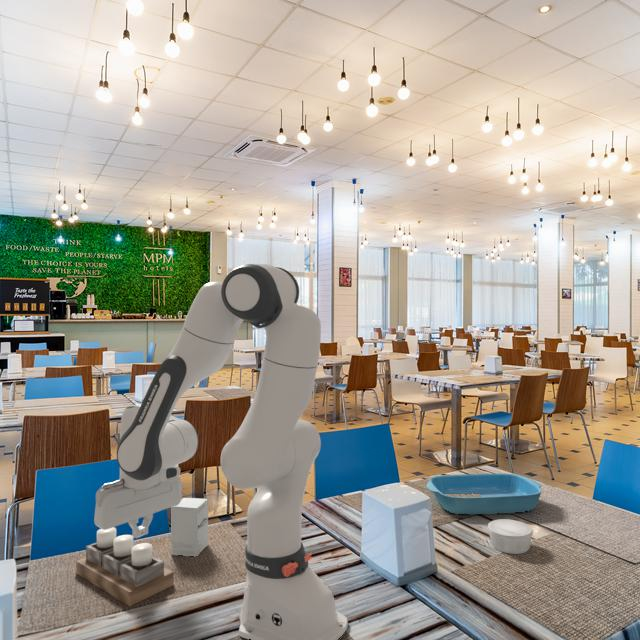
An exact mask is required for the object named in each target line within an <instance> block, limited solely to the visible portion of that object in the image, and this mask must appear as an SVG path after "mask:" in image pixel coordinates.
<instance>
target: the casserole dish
mask: <svg viewBox="0 0 640 640" xmlns="http://www.w3.org/2000/svg"><path fill="white" fill-rule="evenodd" d="M426 488H427V489H428V490H429V491H430V492H431V493H432V494H433V496H434V498H435V500H436V501H437V502H438V504H439V505H440V506H441V507H442V508H443V509H444V511H446V510H447V512H448V511H449V512H448V513H450V512H451V513H450V514H452V513H455V514H454V515H458V514H487V515H498V514H497V513H508V514H516V513H515V512H523V513H526V512H525V511H528V512H531V511H532V510H533V509H535V508H536V507H537V505H538V503H539V501H540V500H539V499H540V497H541V494H542V485H541V483H540V482H538V481H536V480H534V479H532V478H528V477H524V476H522V475H519V474H514V473H503V472H501V473H500V472H499V473H498V472H497V473H469V474H468V473H466V474H465V473H464V474H445V475H444V474H443V475H435V476H431V477H430V478H429V481H428V482H427V483H426ZM472 493H473V494H480V496H481V497H470V498H467V497H451V496H447V495H445V494H459V495H460V494H465V495H467V494H470V495H471V494H472ZM530 510H531V511H530Z"/></svg>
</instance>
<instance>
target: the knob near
mask: <svg viewBox="0 0 640 640" xmlns="http://www.w3.org/2000/svg"><path fill="white" fill-rule="evenodd" d="M152 556H153V544H151V543H149V542H142V543H138V544H134V546H133V547H132V548H131V560H132V565H133V566H145V565H147V564H149V563H151V562H152Z"/></svg>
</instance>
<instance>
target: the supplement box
mask: <svg viewBox="0 0 640 640" xmlns="http://www.w3.org/2000/svg"><path fill="white" fill-rule="evenodd" d="M170 509H171V510H170V511H171V512H170V513H171V514H170V518H171V519H170V521H171V522H170V524H171V527H170V529H171V530H170V534H171V535H170V541H171V542H170V544H171V546H170V547H171V548H170V552H171V553H170V554H171V556H178V555H183V556H182V557H189V556H194V557H193V558H197V557H198V556H199V555H200V554H201V552H203V550H204V549H205V548H206V547H207V546H209V500H208V498H199V497H198V498H197V497H182V500H181V502H180V503H179V505H176V506H173V507H170ZM196 556H197V557H196Z"/></svg>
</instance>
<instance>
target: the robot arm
mask: <svg viewBox="0 0 640 640" xmlns="http://www.w3.org/2000/svg"><path fill="white" fill-rule="evenodd" d="M299 298H300V287H299V284H298V280H297V279H296V278H295V277H294V275H293V274H292V273H291V272H289V271H288V270H286V269H285V268H282V267H278V266H273V265H271V264H266V263H257V264H256V263H255V264H254V263H248V264H247V263H246V264H242V265H239V266H238V267H235V268H234V269H232V270H231V271H230V272H229V273H227V275H226V276H225V278H224V279H223V281H210V282H207V283H205V284H203V286H201V288H200V289H199V290H198V292H197V294H196V295H195V298H194V299H193V302H192V303H191V305H190V308H189V309H188V312H187V315H186V317H185V320H184V323H183V326H182V329H181V331H180V333H179V335H178V338H177V339H176V342H175V344H174V345H173V348H172V349H171V351H170V352H169V353H168V355H167V357H166V358H164V360H163V362H161V364H160V365H159V367H158V369H157V371H156V372H155V375H154V377H153V379H152V380H151V383H150V384H149V386H148V389H147V392H146V394H145V396H144V397H143V399H142V402H141V403H137V404H132V405H129V406H127V407H126V408H124V409H123V412H122V415H121V418H120V427H119V442H118V444H117V448H116V460H117V464H118V466H119V479H117V480H115V481H112V482H107V483H104V484H103V485H101V486H100V487H99V489H97V491H96V492H95V507H94V508H95V509H94V519H93V522H94V525H95V526H96V527H98V528H99V529H104V530H106V529H109V528H112V527H114V528H116V527H119V526H121V525H124V524H126V523H127V524H128V526H129V527H130V529H132V530H131V531H132V533H131V535H132V536H133V537H134V539H138V538H140V537H143V536H145V535H148V534H149V526H150V525H151V522H152V521H153V518H154V514H156V513H158V512H161V511H164V510H168V509H171V507H173V506H176V505H179V503H180V502H181V500H182V499H183V485H182V479H181V478H180V475H181V468H180V466H177V465H179V464H182V463H184V462H187V461H189V460H190V459H192V458H193V457H194V456H195V454H196V453H197V451H198V449H199V434H198V433H197V430H196V428H195V426H194V425H193V424H192V423H191V422H190V421H188V420H186V419H181V418H179V417H176V416H174V415H172V413H173V412H174V409H175V407H176V405H177V403H178V401H179V400H180V398H181V397H182V396H183V395H184V394H185V393H186V392H187V391H189V390H190V389H191V388H192V387H194V386H195V385H196V384H198V383H200V382H202V381H204V380H205V379H207V378H209V377H211V376H213V375H215V374H217V372H219V371H220V370H222V368H223V367H224V365H225V364H226V362H227V360H228V359H229V356H230V355H231V352H232V350H233V347H234V344H235V340H236V338H237V335H238V331H239V329H240V327H241V325H242V324H243V322H244V321H245V322H247V323H248V324H250V325H252V326H253V327H255V328H257V329H263V328H264V330H265V345H264V350H263V356H262V362H261V368H260V372H259V375H258V376H259V378H258V381H257V388H256V389H255V390H256V391H255V394H254V397H253V400H252V401H251V404H250V407H249V409H248V411H247V413H246V415H245V417H244V419H243V421H242V423H241V425H240V426H239V428H238V429H237V431H236V432H235V434H234V435H233V436H232V437H231V438H230V439H229V440H228V441H227V442H226V444H225V445H224V446H223V448H222V450H221V454H220V462H219V463H220V467H221V472H222V474H223V476H224V478H225V480H226V481H227V482H228V483H229V484H230V486H232V487H234V488H236V489H238V490H239V489H240V490H246V489H256V488H257V491H256V493H255V495H254V496H253V498H252V499H251V501H250V502H249V505H248V507H247V513H246V519H247V520H246V521H247V522H246V525H247V526H246V531H247V535H246V536H247V539H246V543H247V544H246V546H245V551H244V552H245V554H244V566H245V568H246V575H245V576H246V577H245V582H244V583H245V584H244V592H243V599H242V600H243V601H242V605H241V608H240V609H241V610H240V612H239V621H240V625H239V628H238V636H240V637H241V638H244V639H247V640H249V639H251V640H337V639H338V638H339V637H340V636H342V635H343V633H344V632H345V631H347V630H348V626H349V623H348V622H349V621H348V618H347V617H346V616H345V615H344V614H342V613H340V612H339V611H337V609H336V601H335V597H334V594H333V593H332V591H331V589H330V588H328V586H327V584H326V582H325V580H323V579H321V578H320V577H319V576H318V575H317V574H316V572H315V571H314V570H313V568H312V567H310V565H309V561H310V560H311V559H313V556H312V555H313V553H312V552H310V553H308V554H307V553H306V550H305V546H304V544H303V542H302V511H303V502H304V496H305V493H306V488H307V485H308V480H309V476H310V473H311V469H312V467H313V464H314V462H315V460H316V459H317V457H318V456H319V453H320V451H321V446H322V443H321V442H322V441H321V436H320V433H319V431H318V429H317V428H316V426H314V424H313V423H311V421H310V422H309V421H308V420H304V419H300V417H301V416H302V415H303V413H304V412H305V411H306V410H307V408H308V407H309V405H310V403H311V401H312V395H313V391H314V385H315V381H316V375H317V371H318V370H317V369H318V365H319V358H320V350H321V335H322V334H321V331H322V330H321V320H320V319H321V318H319V316H318V314H316V312H314V311H313V310H312V309H311V308H308V307H305V306H302V305H298V304H297V303H298V301H299ZM141 518H143V520H142V523H141V525H139V526H138V525H137V524H138V523H139V519H141ZM345 633H346V632H345ZM345 633H344V634H345ZM343 636H344V635H343ZM343 636H342V637H343Z"/></svg>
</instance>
